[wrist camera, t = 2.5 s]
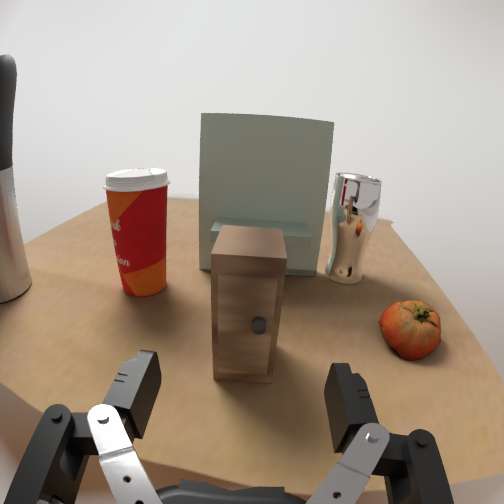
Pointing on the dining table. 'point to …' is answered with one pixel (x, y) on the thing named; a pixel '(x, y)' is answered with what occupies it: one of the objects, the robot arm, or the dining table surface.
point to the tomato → (411, 328)
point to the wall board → (265, 181)
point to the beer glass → (351, 225)
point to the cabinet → (246, 301)
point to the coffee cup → (139, 227)
